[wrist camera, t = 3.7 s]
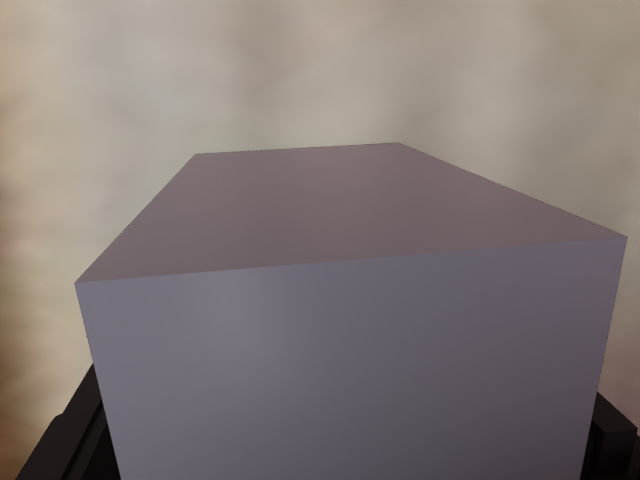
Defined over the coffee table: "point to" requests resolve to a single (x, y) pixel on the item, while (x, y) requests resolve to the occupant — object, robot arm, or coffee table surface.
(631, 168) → the coffee table surface
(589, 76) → the coffee table surface
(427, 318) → the block
